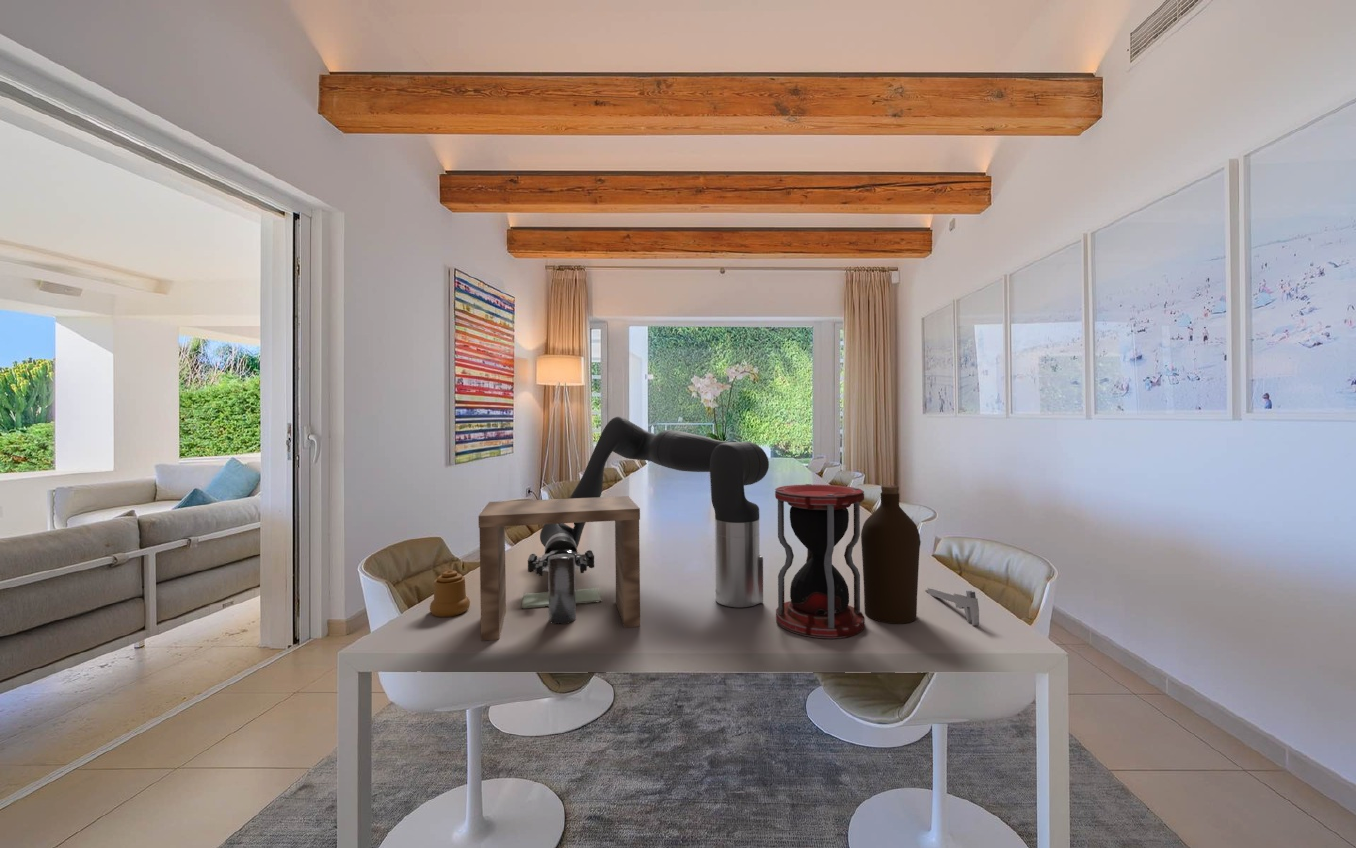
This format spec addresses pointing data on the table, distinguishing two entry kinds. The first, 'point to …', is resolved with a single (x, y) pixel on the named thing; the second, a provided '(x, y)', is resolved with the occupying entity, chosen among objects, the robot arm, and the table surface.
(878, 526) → the olive oil
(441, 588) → the ornamental finial
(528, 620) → the table surface
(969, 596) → the caliper
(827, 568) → the hourglass
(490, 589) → the shelf
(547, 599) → the mat
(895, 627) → the table surface
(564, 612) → the canister
